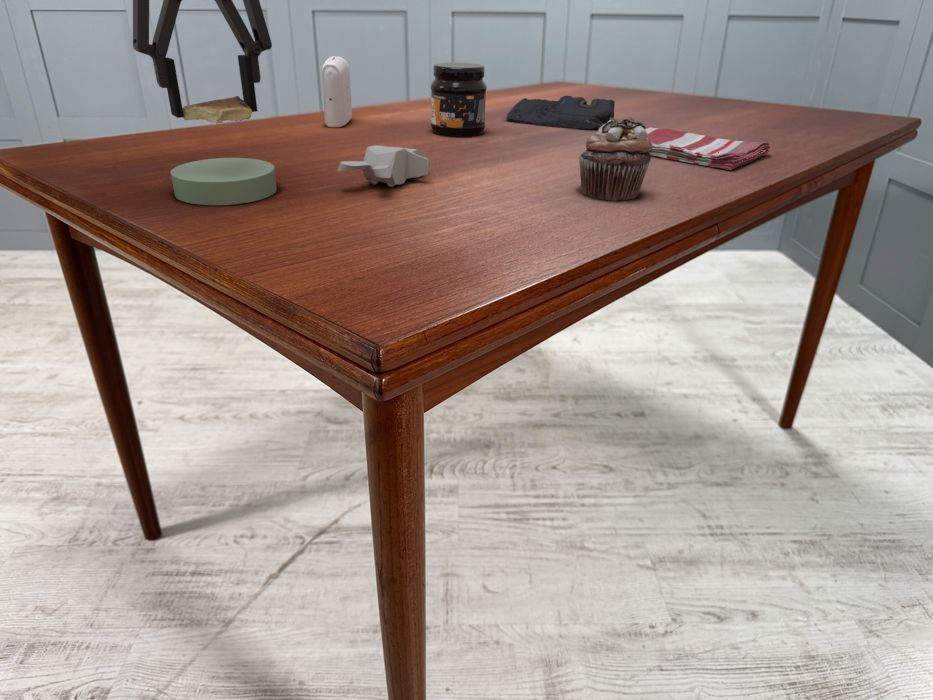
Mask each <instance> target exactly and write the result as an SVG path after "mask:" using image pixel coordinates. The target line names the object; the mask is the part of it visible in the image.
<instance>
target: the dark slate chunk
mask: <svg viewBox="0 0 933 700" xmlns="http://www.w3.org/2000/svg"><path fill="white" fill-rule="evenodd" d="M615 104H616V103H615V101H614V100H613V99H606V98H594V99H592V100H591V102H590V104H588V101H587V100H586V99H585V98H584V97H582V96H577V97H573V96H572V95H563V96H561V97H560V98H559V100H557V101H556V100H548V99H541V98H537V99H536V98H531V99H528V98H525V97H523V98H522V99H520V100H519V101H518V102H517V103H515V105H513V107H512V108H511V109H510V110H509V111H508V113H507V114H506V119H507V120H508V121H512V122H516V123H520V124H529V125H536V126H547V127H555V128H567V129H568V128H569V129H577V130H587V131H589V130H592V131H593V130H599V128H600V127H601V126H603V125H604V124H606V123H607V122H608V121H609V120H610V118H613V119H614V120H615V106H616V105H615Z"/></svg>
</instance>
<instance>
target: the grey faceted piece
mask: <svg viewBox="0 0 933 700" xmlns="http://www.w3.org/2000/svg"><path fill="white" fill-rule="evenodd" d="M358 170H362V172H363V175H364V178H365V180H366V181H370V183H371V184H372V185H377V184H379V182H380V183H385V184H387V186H388V187H389V188H394V187H395V186H396V185H403V184H405V182H406V180H408V179H412V178H415V179H416V178H420V177H423V176H427V175H429V174H430V159H428V158H427V156H425V155H424V152H423V151H422V150H421V149H415V148H407V147H401V146H386V145H377V144H376V145H371V146H368V147H366V151H365V153H364V158H363V160H362V161H360V160H358V161H357V160H356V161H355V160H351V161H350V160H349V161H348V160H347V161H346V160H345V161H344V160H343V161H340V164H339V165H338V168H337V171H338V172H352V171H358Z"/></svg>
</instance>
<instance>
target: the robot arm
mask: <svg viewBox="0 0 933 700" xmlns="http://www.w3.org/2000/svg"><path fill="white" fill-rule="evenodd" d="M213 1H214V2H215V4H216V5H217V7H218V8H219V10H220V12H221V14H222V16H223V18H224V19H225V21H226V23H227V25H228V27H229V28H230V30H231V32H232V34H233V35H234V38H235V39H236V41H237V43H238V44H239V47H240V49H241V50H242V52H243V53H244V54H237V61H238V69H239V77H240V84H241V91H242V100H243V101H245V103H246V104H247V105H248V106H249V107H250V109H251V110H252V113H256V112H258V103H257V96H256V88H255V84H260V82H261V79H262V78H261V71H260V61H259V56H260V55H261V53H264V52H265V51H269V50H271V49H272V46H273V44H272V40H271V35H270V33H269V32H270V31H269V29H268V26H267V23H266V19H265V15H264V12H263V8H262V5H261V2H260V1H261V0H242V2H243V6H244V10H245V12H246V16H247V18H248V21H249V26H250V28H251V32H252V35H253V36H252V35H251V33H250V31H249V29H248V27H247V25H246V23H245V22H244V19H243V18H242V16H241V15H240V12H239V10H238V8H237V7H236V5H235V3H234V2H233V0H213ZM182 2H183V0H163V1H162V5H161V9H160V13H159V16H158V20H157V23H156V27H155V31H154V33H153V37H152V41H151V44H150V0H132V48H133V50H135V52H138V53H140V54H144V55H146V56H149V57H150V58H151V60H152V63H153V69H154V74H155V80H156V83H157V85H158V86H159V88H162V89H166V90H167V96H168V102H169V108H170V114H171V115H172V116H174V117H175V118H178V119H180V118H183V117H184V115H183V109H182V108H183V104H182V99H181V93H180V86H179V81H178V75H177V69H176V63H175V59H173V58H171V57H167V54H168V51H169V47H170V43H171V40H172V36H173V33H174V32H173V31H174V28H175V25H176V22H177V18H178V13H179V10H180V6H181V3H182Z"/></svg>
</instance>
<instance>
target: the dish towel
mask: <svg viewBox="0 0 933 700" xmlns="http://www.w3.org/2000/svg"><path fill="white" fill-rule="evenodd" d="M645 130H646V132H647V138H648V139H649V140H650V142H651V144H652V150H651V151H650V152H649V153H650V155H651V157H658V158H661V159H667V160H672V161H677V162H681V163H682V162H683V163H688V164H691V165H692V164H693V165H698V166H699V165H700V166H705V167H710V168H715V169H722V170H724V171H732V170H734V169H737V168H738V167H741V166H743V165H746V164H749V163H751V162H754V161H755V160H757V159H759V158H762V157H763V156H766V155H767V154H769V152H770V148H771V146H770V143H769V142H768V141H767V142H766V141H761V142H759V141H758V142H756V141H747V140H746V141H745V140H734V139H728V138H727V139H726V138H719V137H715V136H712V135H711V136H710V135H703V134H697V133H692V132H689V131H683V130H676V129H671V128H661V127H659V128H658V127H651V126H648V127H646V128H645ZM768 149H769V150H768ZM761 150H766V151H765V152H763V151H761ZM718 152H719V153H718ZM761 152H763V153H761ZM759 153H760V154H759ZM756 154H758V155H756ZM752 156H753V157H752ZM747 158H748V159H747ZM742 160H743V161H742Z"/></svg>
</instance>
